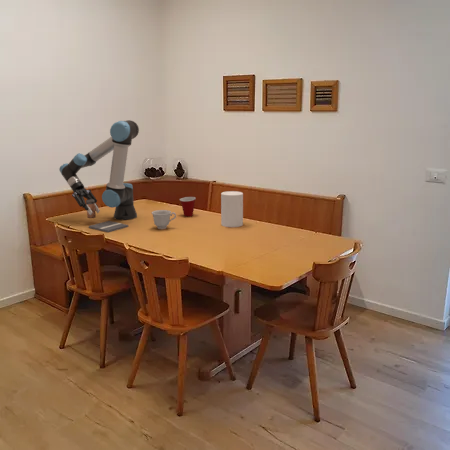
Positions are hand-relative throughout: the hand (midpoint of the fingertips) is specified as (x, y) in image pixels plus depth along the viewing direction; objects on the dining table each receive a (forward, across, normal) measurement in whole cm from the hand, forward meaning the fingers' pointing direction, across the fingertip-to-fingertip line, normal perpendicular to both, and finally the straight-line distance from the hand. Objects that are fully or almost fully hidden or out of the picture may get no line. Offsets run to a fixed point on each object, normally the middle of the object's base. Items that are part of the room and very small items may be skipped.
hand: (95, 212), depth 305 cm
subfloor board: (+14, 0, +3) cm, 14 cm away
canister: (+56, -50, +43) cm, 86 cm away
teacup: (+35, -19, +23) cm, 46 cm away
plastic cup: (+29, -52, +16) cm, 62 cm away
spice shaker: (0, 0, -5) cm, 5 cm away
